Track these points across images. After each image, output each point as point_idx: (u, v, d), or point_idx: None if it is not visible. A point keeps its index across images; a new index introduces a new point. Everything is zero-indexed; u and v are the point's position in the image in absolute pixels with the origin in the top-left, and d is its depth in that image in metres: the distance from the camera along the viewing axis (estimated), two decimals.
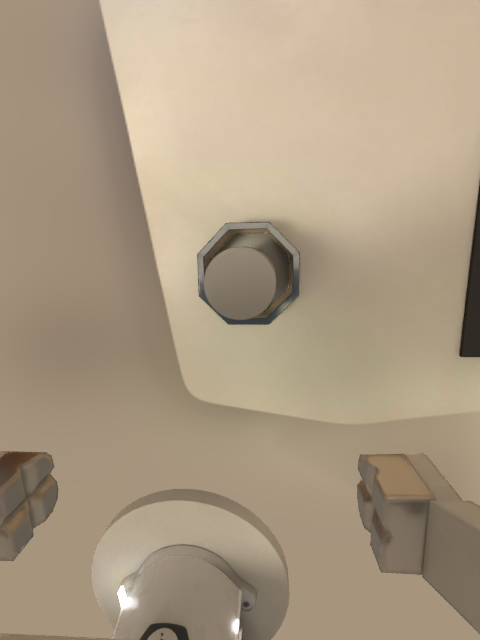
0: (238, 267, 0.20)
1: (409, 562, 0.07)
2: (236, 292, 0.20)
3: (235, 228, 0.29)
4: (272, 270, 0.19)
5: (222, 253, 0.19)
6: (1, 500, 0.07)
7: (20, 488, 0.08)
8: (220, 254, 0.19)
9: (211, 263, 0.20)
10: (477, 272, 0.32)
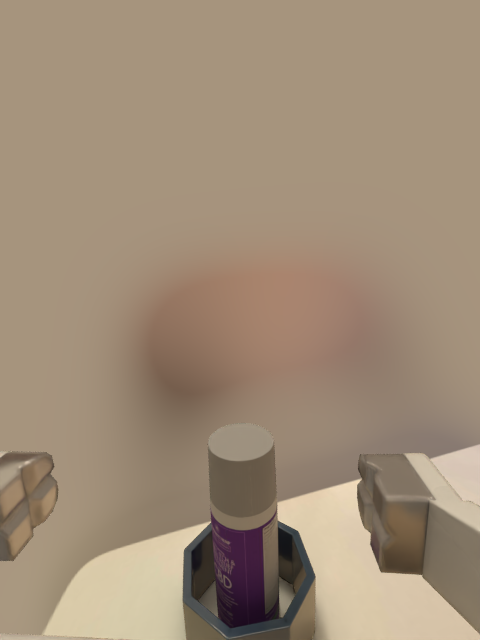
0: (255, 437, 0.22)
1: (409, 562, 0.07)
2: (233, 439, 0.22)
3: (295, 541, 0.26)
4: (258, 456, 0.20)
5: (264, 428, 0.23)
6: (1, 500, 0.07)
7: (20, 488, 0.08)
8: (263, 428, 0.23)
9: (254, 425, 0.24)
10: None
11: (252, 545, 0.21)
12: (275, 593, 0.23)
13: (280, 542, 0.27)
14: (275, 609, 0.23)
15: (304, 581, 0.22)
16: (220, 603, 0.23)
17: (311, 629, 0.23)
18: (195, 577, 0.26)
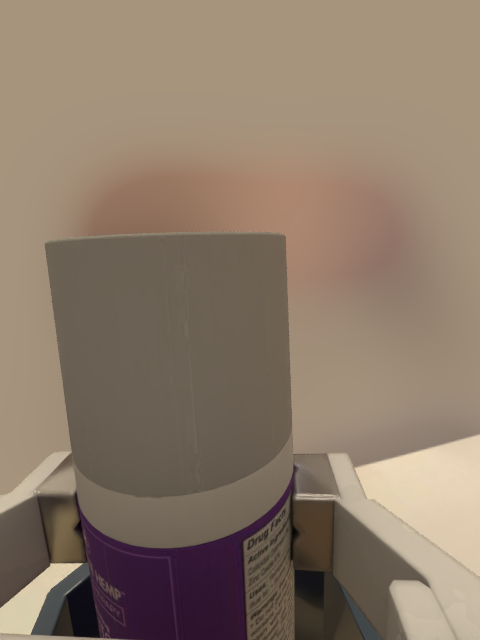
0: None
1: (320, 559, 0.07)
2: None
3: None
4: (222, 232, 0.05)
5: None
6: (77, 501, 0.07)
7: None
8: None
9: None
10: None
11: (203, 605, 0.05)
12: None
13: None
14: None
15: None
16: None
17: None
18: None
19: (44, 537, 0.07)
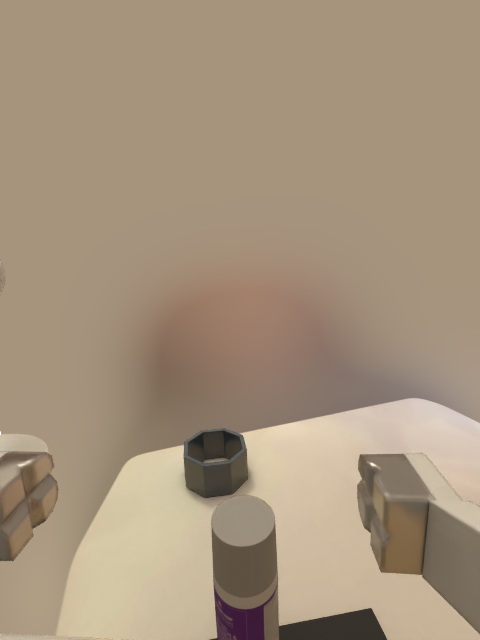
0: (256, 515, 0.23)
1: (409, 562, 0.07)
2: (235, 516, 0.23)
3: (240, 438, 0.51)
4: (260, 540, 0.21)
5: (265, 503, 0.24)
6: (1, 500, 0.07)
7: (20, 488, 0.08)
8: (264, 502, 0.24)
9: (256, 498, 0.25)
10: None
11: (253, 622, 0.22)
12: None
13: (234, 442, 0.52)
14: None
15: (240, 450, 0.48)
16: None
17: (245, 475, 0.48)
18: (190, 456, 0.51)
19: None
